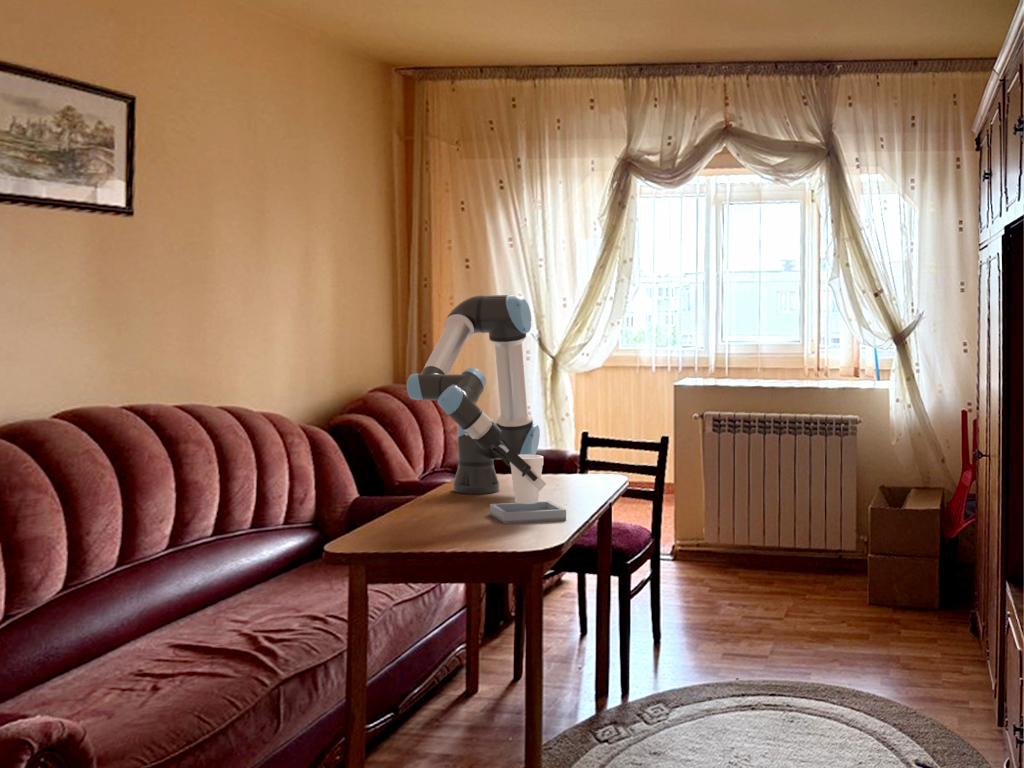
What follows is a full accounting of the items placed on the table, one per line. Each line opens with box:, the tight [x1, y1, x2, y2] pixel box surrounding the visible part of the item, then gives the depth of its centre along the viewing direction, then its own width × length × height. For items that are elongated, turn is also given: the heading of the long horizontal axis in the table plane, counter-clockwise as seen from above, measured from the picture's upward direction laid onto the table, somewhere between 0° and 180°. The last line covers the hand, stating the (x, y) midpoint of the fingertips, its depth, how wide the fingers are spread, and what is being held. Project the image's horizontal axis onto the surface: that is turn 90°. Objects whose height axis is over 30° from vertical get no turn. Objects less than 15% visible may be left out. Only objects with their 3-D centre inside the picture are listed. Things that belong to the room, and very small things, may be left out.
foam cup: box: [510, 454, 544, 504], centre depth 322 cm, size 10×9×13 cm
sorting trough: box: [489, 500, 567, 525], centre depth 323 cm, size 15×18×3 cm
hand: (537, 484), depth 323 cm, fingers closed on foam cup, 9 cm apart
